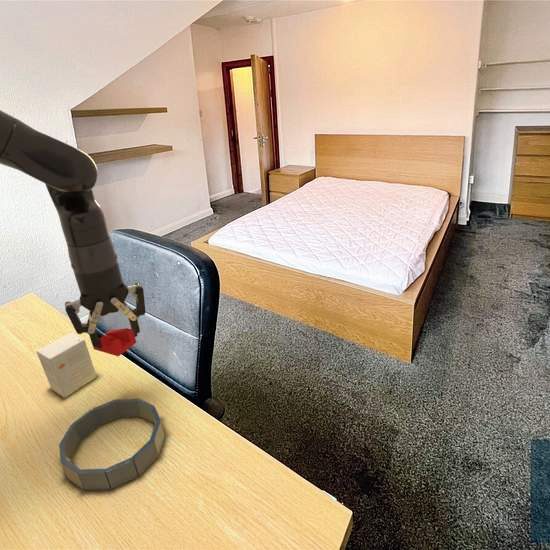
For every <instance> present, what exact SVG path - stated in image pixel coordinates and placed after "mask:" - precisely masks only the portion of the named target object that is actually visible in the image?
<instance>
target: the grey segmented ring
mask: <svg viewBox="0 0 550 550" xmlns="http://www.w3.org/2000/svg"><path fill="white" fill-rule="evenodd" d="M138 417H139V418H142V419H144V420H146V421H147V422H148V421H149V422H151V423H153V424H154V427H153V430H152V433H151V436H150V438H149V440H147V442H146V443H145V444H144V445H143V446H142V447H140V448H139V450H137V451H136V452H135V453H134V454H133V455H132V456H130V457H129V458H127V459H124V460H122V461H119V462H117V463H115V464H113V465H111V466H109V467H106V468H80V467H78V466H77V465H76V464H74V463H72V457H73V455H74V454H75V452H76V450H77V449H78V447H79V445H80V443H81V441H83V439H84V438H86V437H88V435H89V434H91V433H92V432H94V431H95V430H96V429H97V428H98V427H99V426H102V425H104V424H107V423H109V422H113V421H115V420H117V419H119V418H138ZM164 441H165V431H164V428H163V423H162V420H161V417H160V415H159V413H158V411H157V407H156V406H155V404H152V403H149V402H147V401H145V400H143V399H141V398H116V399H113V400H110V401H108V402H105V403H102V404H100V405H98V406H97V405H96V406H94V407H92V408H90V409H89V410H88V411H86V412H85V413H84V414H82V415H81V416H80V417H79V418H78V419H76V420H74V422H73V423H71V424H70V425H69V427H68V429H67V430H66V432H65V433H64V435H63V437H62V439H61V440H60V442H59V444H58V446H59V456H60V457H59V458H60V464H61V467H62V469H63V471H64V473H65V476H66V478H67V480H69V481H70V482H72V483H73V484H75V485H76V486H77V487H79V488H80V489H82V490H83V491H106V490H113V489H116V488H118V487H120V486H122V485H124V484H126V483H128V482H130V481H133V480H135V479H137V478H139V477H141V475H142V474H144V472H145V471H146V470H147V469H148V468H149V467H151V465H152V464H153V463H154V462H155V461H156V460H157V459H158V458H159V456H160V453H161V450H162V447H163V444H164Z"/></svg>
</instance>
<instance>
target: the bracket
mask: <svg viewBox="0 0 550 550" xmlns="http://www.w3.org/2000/svg"><path fill="white" fill-rule="evenodd" d="M99 341H100V344H101V347H102V348H99V349H98V348H97V347H94V346H93V345H92V349H93V350H95V351H98V352H102V353H104V354H108V355H112V356H115V357H118V358H119V357H120V356H121V355H123V354H124V353H126V351H128V350H129V349H131V347H133V346H134V345H135V344H137V340H136V337H135V335H134V331H133V330H132V329H131V328H128V327H126V328H117V329H110V330H109V331H107V332H105V335H102V336H101V337H99Z"/></svg>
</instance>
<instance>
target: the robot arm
mask: <svg viewBox="0 0 550 550" xmlns="http://www.w3.org/2000/svg"><path fill="white" fill-rule="evenodd" d="M0 165H1V166H6V167H8V168H10V169H11V168H12V169H14V170H17V171H19V172H21V173H23V174H25V175H27V176H29V177H31V178H33V179H35V180H37V181H39V182H40V183H43V184H45V187H46V189H47V192H48V194H49V197H50V199H51V201H52V203H53V205H54V208H55V210H56V212H57V214H58V218H59V222H60V226H61V230H62V233H63V236H64V239H65V244H66V247H67V253H68V258H69V261H70V266H71V269H72V271H73V274H74V277H75V281H76V284H77V288H78V290H79V292H80V296H79V299H76V300H74V301H70V300H69V301H66V302H64V309H65V313H66V314H67V316H68V318H69V321H70V323H71V324H72V326H73V329H74V331H75V333H76V334H77V335H82V334H87V335H88V336H89V339H90V342H91V345H92V347H93V346H94V347H97V348H98V349H99V348H102V347H101V344H100V341H99V338H100V337H99V335H98V331H97V324H98V323H99V321H100V320H99V319H100V317H104V316H107V315H108V314H112V313H118V312H121V313H122V314H123V315H125V316H126V317H127V318H128V322H129V325H130V329H132V330H133V331H134V335H135V338H136V337H138V334H139V333H140V332H141V328H140V325H139V321H138V319H139V317H140V316H144V315H145V314H146V305H145V304H146V302H145V293H144V288H143V286H142V284H141V283H140V282H135V283H134V285H129V286H127V285H126V284H125V283H124V279H123V276H122V271H121V267H120V264H119V260H118V253H117V252H116V248H115V245H114V243H113V241H112V238H111V235H110V231H109V227H108V223H107V220H106V217H105V213H104V211H103V209H102V207H101V206H100V204H99V203H98V202H97V201H96V198H95V194H94V191H93V188H94V187H95V186H96V184H97V182H98V177H99V172H98V168H97V165H96V163H95V161H94V160H93V159H92V158H91V156H89V155H88V154H87V153H86V152H84V151H82V150H80V149H78V148H76V147H74V146H72V145H70V144H68V143H65V142H64V141H61V140H59V139H57V138H55V137H52V136H50V135H48V134H46V133H43V132H41V131H39V130H36V129H35V128H33V127H31V126H30V125H28V124H26V123H25V122H23V121H22V120H20V119H18V118H16V117H14V116H13V115H11V114H8V113H7V112H5V111H3V110H1V109H0ZM129 294H131V295H132V297H133V298H134V299H135V306H136V307H135V308H134V309H133V308H131V306H130V305H128V303H127V302H126V299H127V297H128V295H129ZM81 307H83V308H84V309H86V310H88V317H87V321H86V323H82V321H81V319H80V317H79V315H78V314H79V313H80V311H81V310H80V308H81Z"/></svg>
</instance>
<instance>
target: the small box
mask: <svg viewBox="0 0 550 550" xmlns="http://www.w3.org/2000/svg"><path fill="white" fill-rule="evenodd" d="M85 340H86V339H84V338H82V337H81V336H78V335H76V334H75V333H72V332H69V333H67V334H65V335H63V336H62V337H60V338H58V339H56V340H54V341H52V342H50V343H48V344H46V345H45V346H43V347H41V348H39V349H36V354H37V357H38V359H39V362H40V365H41V367H42V370H43V373H44V374H45V377H46V379H47V381H48V385H49V386H50V389H51V390H52V391H53V392H55V393H57V394H58V395H60V396H61V397H62V398H65V399H66V398H67V397H68V396H70V395H72V394H74V393H75V392H76V391H78V390H80V389H81V388H82V387H84V386H86V385H87V384H88V383H90V382H92V381H93V380H95V379H97V372H96V369H95V367H94V363H93V361H92V358H91V355H90V352H89V349H88V345H87V343H86V341H85Z"/></svg>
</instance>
